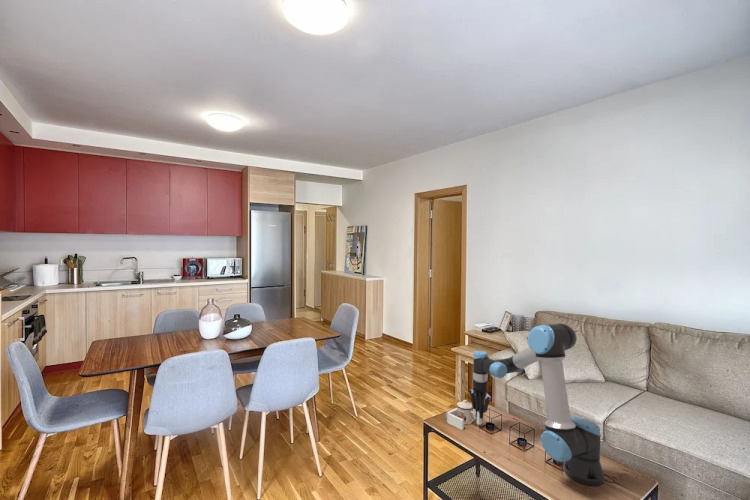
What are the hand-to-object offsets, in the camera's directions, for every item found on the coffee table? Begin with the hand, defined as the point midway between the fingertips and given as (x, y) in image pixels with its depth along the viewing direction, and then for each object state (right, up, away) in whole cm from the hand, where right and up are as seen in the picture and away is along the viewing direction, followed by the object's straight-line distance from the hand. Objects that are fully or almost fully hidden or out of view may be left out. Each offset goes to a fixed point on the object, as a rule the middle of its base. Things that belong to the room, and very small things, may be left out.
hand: (479, 423), depth 193 cm
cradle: (-7, -2, +8) cm, 10 cm away
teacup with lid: (-5, -2, +6) cm, 8 cm away
